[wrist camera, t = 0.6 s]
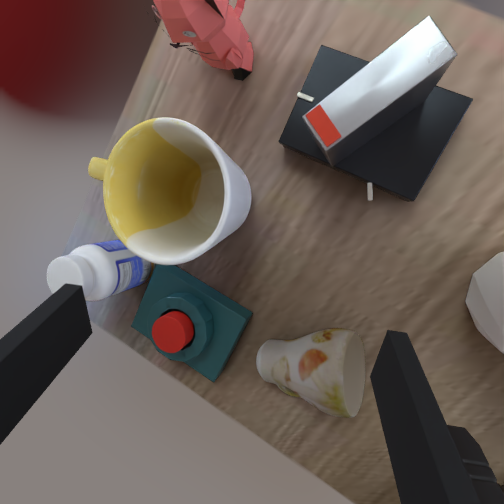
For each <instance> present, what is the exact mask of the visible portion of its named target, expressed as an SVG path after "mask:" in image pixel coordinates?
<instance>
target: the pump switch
mask: <svg viewBox="0 0 504 504" xmlns="http://www.w3.org/2000/svg"><path fill="white" fill-rule="evenodd" d="M171 311H180V312H183V313H184V314H186V315H187V316H188V317H189V318H190V319H191V321H192V323H193V326H194V335H193V338H192V340H191V341H190V342H189V343H188V344H187V345H186V346H184V347H183V348H182V349H181V350H180V351H178V352H175V353H167V352H165V351H163V350H161V349H160V348H159V347H158V346H157V345H156V344H155V342H154V340H153V337H152V327H153V324H154V323H155V321H156V320H157V319H158V318H160V317H162V316H164V315H165V314H167V313H169V312H171ZM252 314H253V313H252V312H251V311H249V310H248V309H246V308H244V307H243V306H241V305H239V304H238V303H236V302H234V301H233V300H231V299H229V298H228V297H226V296H225V295H223V294H221V293H220V292H218V291H216V290H215V289H213V288H211V287H210V286H208V285H206V284H205V283H203V282H202V281H200V280H198V279H197V278H195V277H193V276H192V275H190V274H188V273H187V272H185V271H183V270H182V269H180V268H179V267H177V266H175V265H160V264H157V265H156V267H155V269H154V272H153V274H152V277H151V279H150V281H149V284H148V286H147V289H146V291H145V294H144V296H143V298H142V301H141V303H140V306H139V308H138V311H137V313H136V315H135V318H134V320H133V323H132V325H131V327H133V328H134V329H136V330H137V331H139V332H140V333H142V334H143V335H145V336H146V337H148V338H149V339H151V341H152V342H153V344H154V346H155V348H156V349H157V351H158V352H160V353H161V354H163V355H164V356H166V357H167V358H169V359H170V360H175V361H183V362H184V363H186V364H187V365H189V366H190V367H192V368H193V369H195V370H196V371H198V372H199V373H201V374H202V375H204V376H205V377H207V378H208V379H209V380H211V381H212V382H215V380H216V379H217V378H218V376H219V375H220V374H221V373H222V371H223V369H224V367H225V365H226V363H227V361H228V360H229V358H230V356H231V354H232V352H233V350H234V348H235V346H236V344H237V342H238V341H239V339H240V337H241V335H242V333H243V331H244V329H245V327H246V325H247V323H248V322H249V320H250V318H251V316H252Z"/></svg>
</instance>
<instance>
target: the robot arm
mask: <svg viewBox="0 0 504 504" xmlns="http://www.w3.org/2000/svg"><path fill="white" fill-rule="evenodd" d="M91 334H92V329H91V324H90V319H89V315H88V310H87V306H86V301H85V297H84V292H83V287H82V286H81V285H75V284H68V283H65V284H64V285H63V286H62V287H61V288H59V289H58V290H57V291H56V292H55V293H54V294H53V295H51V296H50V297H49V298H48V299H47V300H46V301H44V302H43V303H42V304H41V305H40V306H39V307H38V308H36V309H35V310H34V311H33V312H32V313H31V314H29V315H28V316H27V317H26V318H25V319H23V320H22V321H21V322H20V323H19V324H18V325H17V326H15V327H14V328H13V329H12V330H11V331H10V332H8V333H7V334H6V335H5V336H4V337H3V338H1V339H0V444H1V443H2V442H3V441H4V440H5V438H6V437H7V436H8V435H9V434H10V432H11V431H12V430H13V429H14V427H15V426H16V425H17V424H18V423H19V421H20V420H21V419H22V418H23V416H24V415H25V414H26V413H27V412H28V410H29V409H30V408H31V407H32V406H33V404H34V403H35V402H36V401H37V399H38V398H39V397H40V396H41V395H42V393H43V392H44V391H45V390H46V389H47V387H48V386H49V385H50V384H51V382H52V381H53V380H54V379H55V378H56V376H57V375H58V374H59V373H60V371H61V370H62V369H63V368H64V367H65V365H66V364H67V363H68V362H69V361H70V359H71V358H72V357H73V356H74V355H75V353H76V352H77V351H78V350H79V348H80V347H81V346H82V345H83V344H84V342H85V341H86V340H87V339H88V338H89V336H90V335H91ZM370 378H371V382H372V386H373V390H374V394H375V398H376V402H377V407H378V411H379V415H380V419H381V423H382V427H383V431H384V435H385V439H386V444H387V448H388V452H389V456H390V460H391V464H392V468H393V472H394V476H395V480H396V485H397V489H398V493H399V497H400V501H401V504H504V486H502V487H500V485H499V484H497V482H496V481H497V479H496V477H495V475H494V473H493V471H492V469H491V468H489V463H488V461H487V459H486V457H485V455H484V453H483V451H482V449H481V447H480V445H479V444H478V443H477V442H476V441H475V439H474V438H473V437H472V436H471V435H470V434H469V432H468V431H467V430H466V429H465V428H462V427H456V426H450V425H447V424H446V422H445V420H444V418H443V415H442V413H441V411H440V408H439V406H438V404H437V401H436V399H435V397H434V394H433V392H432V390H431V387H430V385H429V383H428V381H427V378H426V376H425V374H424V371H423V369H422V367H421V364H420V362H419V360H418V357H417V355H416V353H415V350H414V348H413V346H412V344H411V341H410V339H409V337H408V334H407V333H404V332H397V331H390V330H387V333H386V336H385V338H384V341H383V344H382V346H381V349H380V352H379V354H378V357H377V360H376V362H375V365H374V368H373V370H372V373H371V376H370Z"/></svg>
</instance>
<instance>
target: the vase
mask: <svg viewBox="0 0 504 504" xmlns="http://www.w3.org/2000/svg"><path fill="white" fill-rule="evenodd" d="M465 302H466V304H467V307H468V309H469V312H470V314H471V317H472V319H473V321H474V324H475V326H476V328H477V330H478V331H479V332H480V333H481V334H482V335H483V336H484V337H485V338H486V339H487V340H488V341H489V342H491V343H492V344H493V345H494V346H495V347H496V348H497V349H498V350H499V351H501V352H502V353H503V354H504V252H500V253H497V254H496V255H495V256H494V257H493V258H491V259H490V260H489V261H488V262H487V263H485V264H484V265H483V266H482V267H481V268H479V269H478V270H477V271H476V272H475V273H473V275H472V279H471V282H470V286H469V289H468V293H467V297H466V300H465Z"/></svg>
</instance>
